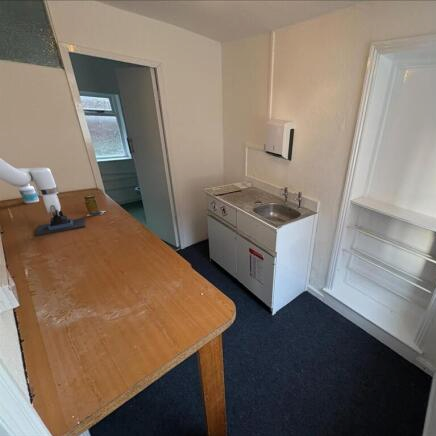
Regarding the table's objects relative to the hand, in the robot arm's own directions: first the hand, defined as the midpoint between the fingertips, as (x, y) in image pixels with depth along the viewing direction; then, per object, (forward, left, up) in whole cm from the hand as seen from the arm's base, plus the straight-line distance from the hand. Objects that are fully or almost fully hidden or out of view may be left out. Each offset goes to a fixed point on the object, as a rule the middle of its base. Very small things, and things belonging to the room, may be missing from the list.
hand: (59, 220), depth 131 cm
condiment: (+16, +14, -4) cm, 22 cm away
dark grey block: (0, 0, -3) cm, 3 cm away
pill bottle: (-18, +63, -4) cm, 66 cm away
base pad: (0, 0, -4) cm, 4 cm away
